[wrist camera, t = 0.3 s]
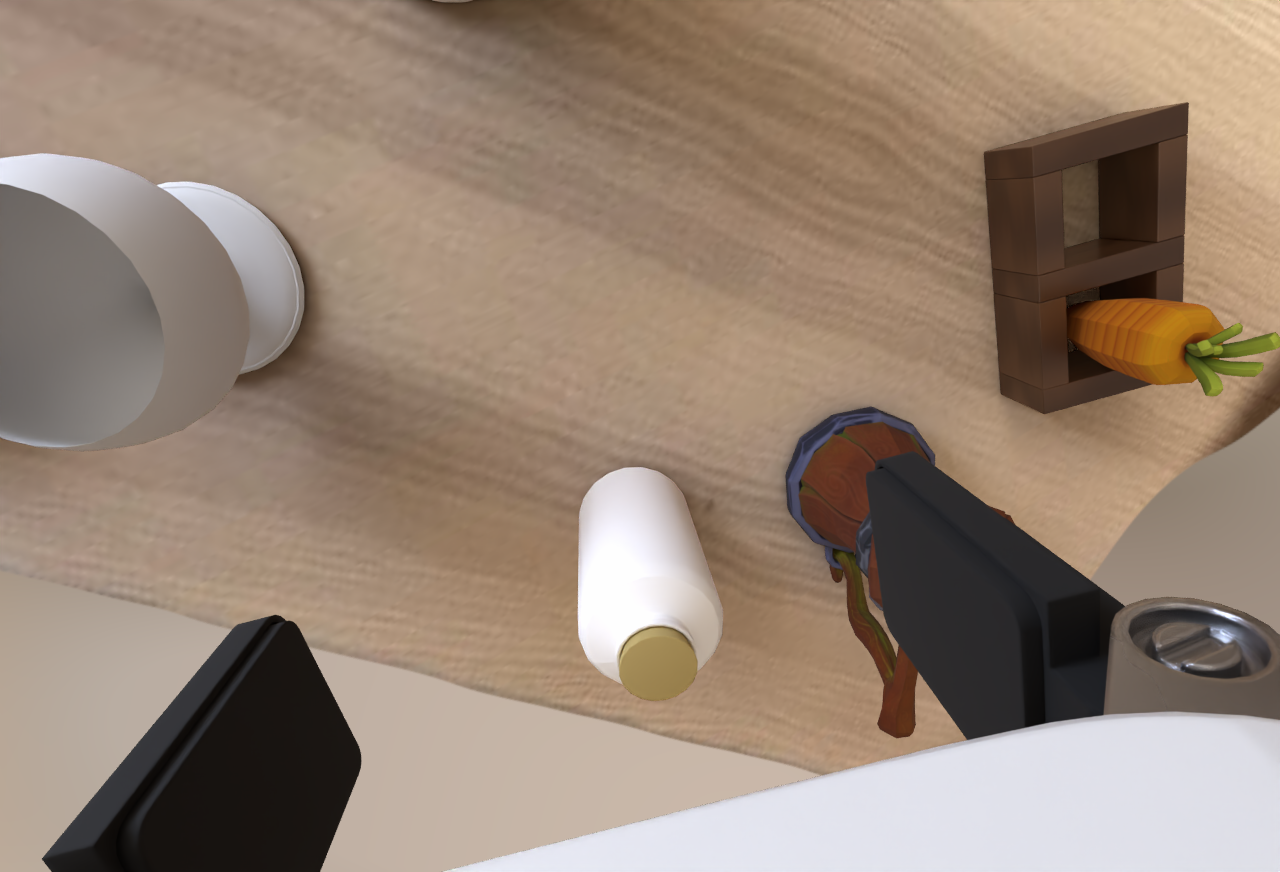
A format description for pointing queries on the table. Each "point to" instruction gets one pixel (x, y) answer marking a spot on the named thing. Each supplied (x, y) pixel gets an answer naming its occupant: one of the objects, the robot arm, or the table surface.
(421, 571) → the table surface
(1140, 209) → the holder
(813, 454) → the mug
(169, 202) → the chalice
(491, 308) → the table surface
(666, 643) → the white bottle
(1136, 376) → the carrot
